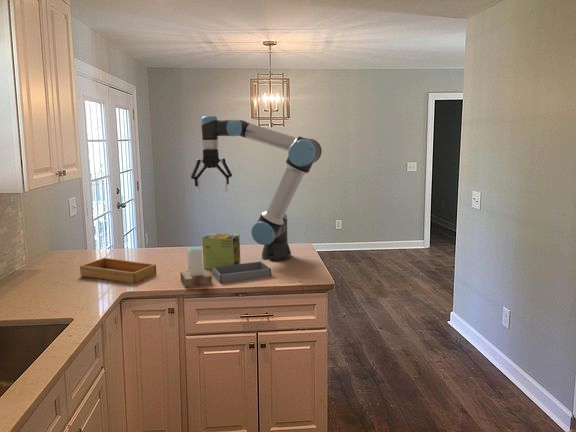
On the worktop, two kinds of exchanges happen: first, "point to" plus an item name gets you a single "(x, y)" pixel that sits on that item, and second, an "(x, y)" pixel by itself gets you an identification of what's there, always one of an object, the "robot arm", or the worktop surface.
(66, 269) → the worktop surface
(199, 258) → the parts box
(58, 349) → the worktop surface
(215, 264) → the protein box
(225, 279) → the bin
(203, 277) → the stand
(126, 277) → the tray
